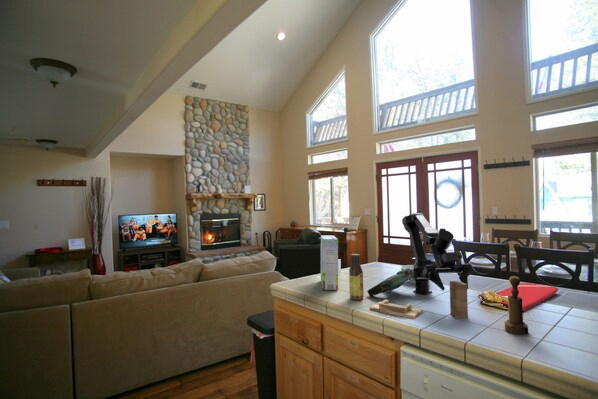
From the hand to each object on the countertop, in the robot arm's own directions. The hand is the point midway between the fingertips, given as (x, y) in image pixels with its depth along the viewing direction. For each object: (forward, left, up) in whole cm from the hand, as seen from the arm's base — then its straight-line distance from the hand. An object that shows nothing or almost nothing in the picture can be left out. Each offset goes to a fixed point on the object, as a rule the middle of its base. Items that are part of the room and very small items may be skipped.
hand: (455, 289), depth 126 cm
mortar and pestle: (+1, +21, -10) cm, 23 cm away
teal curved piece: (-2, -40, -8) cm, 41 cm away
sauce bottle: (+12, -39, -10) cm, 42 cm away
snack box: (+5, -65, -10) cm, 66 cm away
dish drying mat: (-40, +8, -10) cm, 42 cm away
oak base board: (+14, -17, -9) cm, 24 cm away
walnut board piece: (+1, +2, -10) cm, 10 cm away
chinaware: (-34, -39, -10) cm, 53 cm away
